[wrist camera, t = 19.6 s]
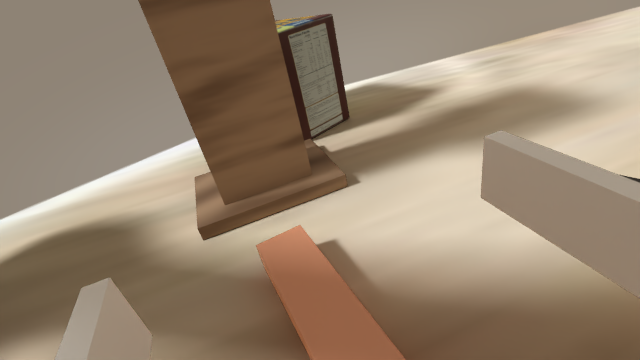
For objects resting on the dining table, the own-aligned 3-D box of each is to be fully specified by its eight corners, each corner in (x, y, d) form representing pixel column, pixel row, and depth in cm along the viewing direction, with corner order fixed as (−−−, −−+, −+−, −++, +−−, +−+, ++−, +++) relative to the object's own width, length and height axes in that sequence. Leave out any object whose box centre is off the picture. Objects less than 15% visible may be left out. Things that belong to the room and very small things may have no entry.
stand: (347, 186, 37) (276, -201, 22) (203, 240, 34) (0, -170, 18) (312, 148, 47) (247, -134, 32) (199, 186, 44) (65, -106, 28)
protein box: (292, 107, 64) (270, 20, 57) (350, 118, 54) (334, 12, 46) (247, 128, 59) (216, 36, 51) (302, 145, 48) (274, 31, 41)
